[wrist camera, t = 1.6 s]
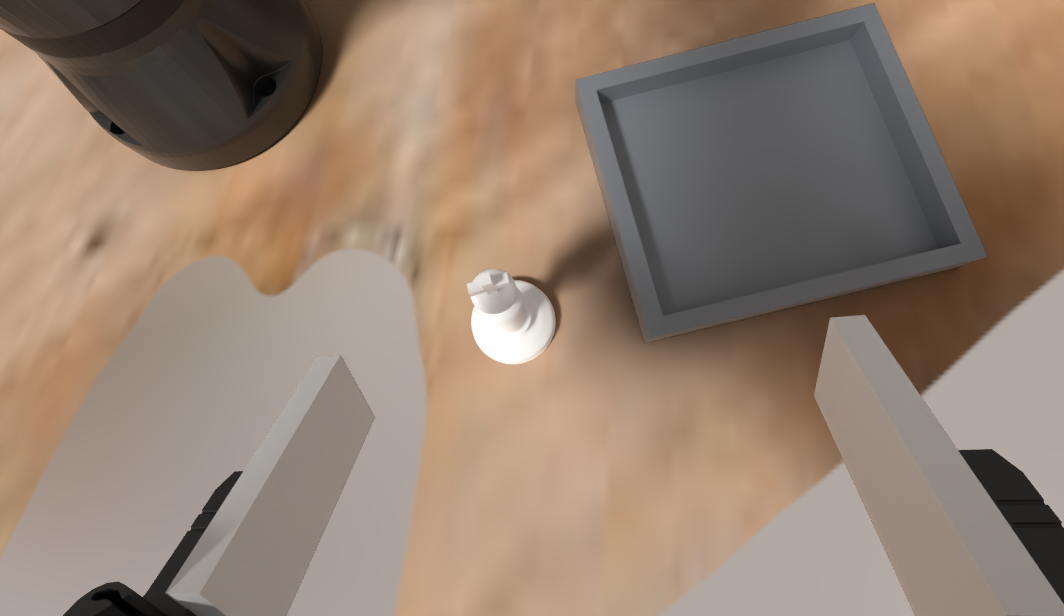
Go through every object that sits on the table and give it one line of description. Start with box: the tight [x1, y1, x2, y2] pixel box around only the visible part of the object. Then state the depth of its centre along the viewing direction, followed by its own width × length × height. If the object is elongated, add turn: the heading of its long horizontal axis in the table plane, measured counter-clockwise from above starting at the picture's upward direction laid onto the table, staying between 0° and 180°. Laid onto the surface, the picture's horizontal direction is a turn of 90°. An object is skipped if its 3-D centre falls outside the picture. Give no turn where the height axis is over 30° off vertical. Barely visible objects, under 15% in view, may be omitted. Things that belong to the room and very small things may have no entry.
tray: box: [575, 3, 988, 343], centre depth 29 cm, size 16×18×2 cm
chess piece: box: [467, 269, 556, 364], centre depth 25 cm, size 5×5×10 cm
